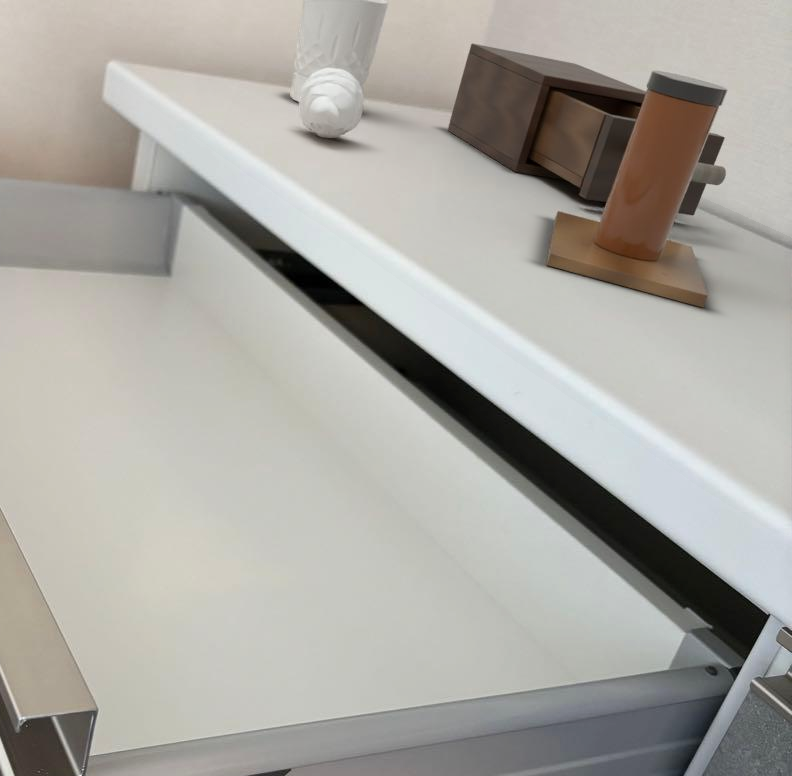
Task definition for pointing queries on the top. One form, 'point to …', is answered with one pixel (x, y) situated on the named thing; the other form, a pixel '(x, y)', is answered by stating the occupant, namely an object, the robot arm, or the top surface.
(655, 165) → the spice jar
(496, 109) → the cabinet
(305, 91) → the garlic bulb
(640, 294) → the top surface
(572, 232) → the cork mat
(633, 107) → the drawer
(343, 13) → the white tapered cylinder
